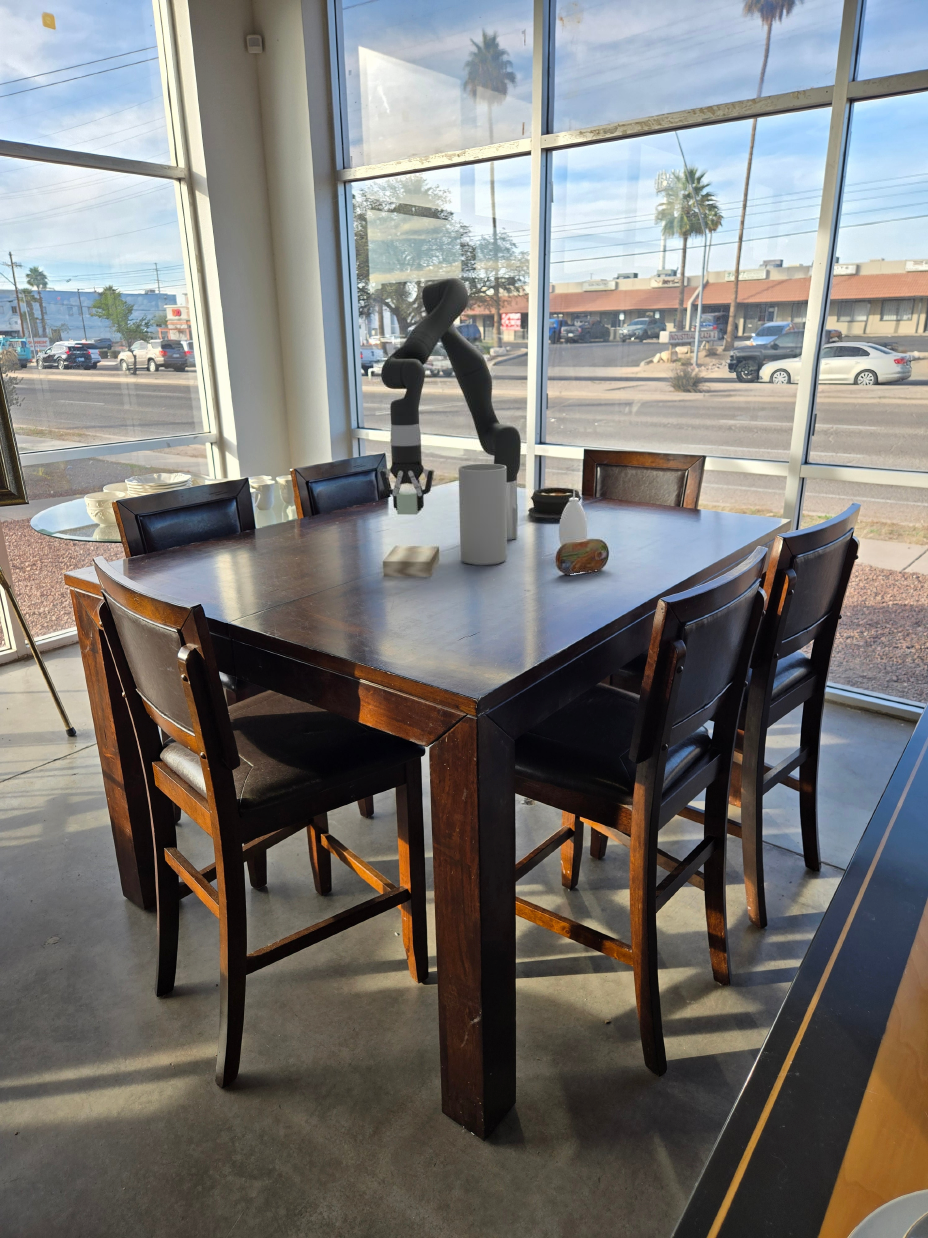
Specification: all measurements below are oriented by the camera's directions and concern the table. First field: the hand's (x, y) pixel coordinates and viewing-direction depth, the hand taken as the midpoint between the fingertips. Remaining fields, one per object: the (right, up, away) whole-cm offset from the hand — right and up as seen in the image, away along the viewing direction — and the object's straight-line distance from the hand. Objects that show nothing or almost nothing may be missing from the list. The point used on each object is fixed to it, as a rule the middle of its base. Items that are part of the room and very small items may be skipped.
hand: (408, 509), depth 204 cm
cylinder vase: (+20, -12, +11) cm, 26 cm away
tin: (+44, -16, -2) cm, 47 cm away
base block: (+1, -15, +5) cm, 15 cm away
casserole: (+45, +7, +64) cm, 79 cm away
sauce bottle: (+44, -10, +16) cm, 48 cm away
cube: (0, -1, 0) cm, 1 cm away
